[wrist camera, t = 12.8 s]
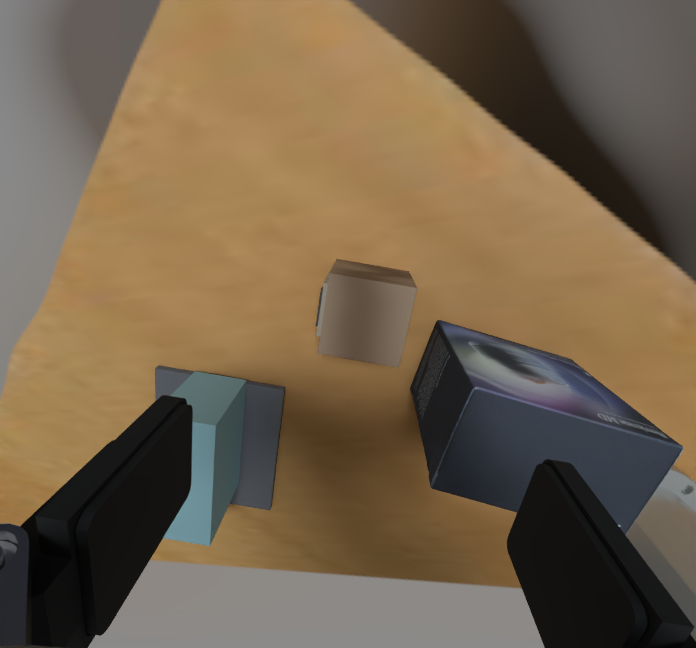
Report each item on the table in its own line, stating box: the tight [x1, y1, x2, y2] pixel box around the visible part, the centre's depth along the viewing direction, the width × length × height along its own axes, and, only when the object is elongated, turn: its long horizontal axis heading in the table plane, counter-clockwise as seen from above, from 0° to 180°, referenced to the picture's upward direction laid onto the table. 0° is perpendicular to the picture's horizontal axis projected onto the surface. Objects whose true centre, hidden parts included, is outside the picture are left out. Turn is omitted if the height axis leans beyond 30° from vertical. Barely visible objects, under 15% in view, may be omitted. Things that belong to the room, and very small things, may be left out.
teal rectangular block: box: [163, 371, 247, 546], centre depth 27 cm, size 4×10×6 cm, turn 171°
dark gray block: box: [155, 366, 285, 510], centre depth 31 cm, size 10×12×1 cm
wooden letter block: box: [316, 259, 417, 367], centre depth 24 cm, size 5×5×5 cm
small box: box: [410, 320, 684, 535], centre depth 23 cm, size 11×6×10 cm, turn 74°
